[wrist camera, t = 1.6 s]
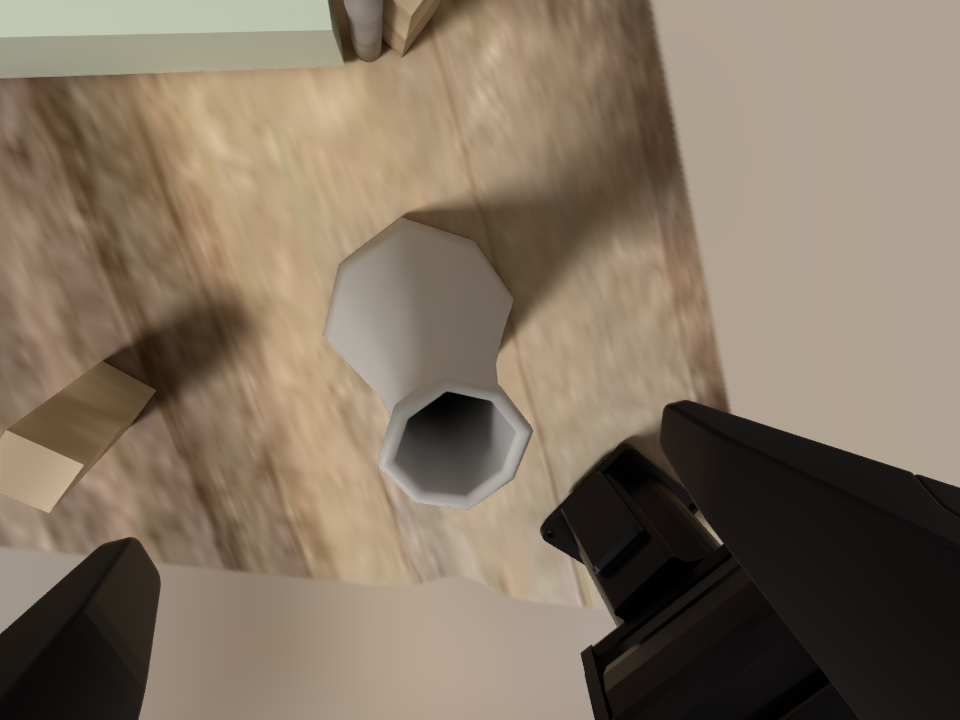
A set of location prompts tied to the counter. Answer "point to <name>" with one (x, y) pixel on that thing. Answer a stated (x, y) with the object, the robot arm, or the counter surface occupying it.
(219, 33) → the door
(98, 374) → the door frame
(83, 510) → the counter surface
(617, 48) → the counter surface
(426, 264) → the flask
